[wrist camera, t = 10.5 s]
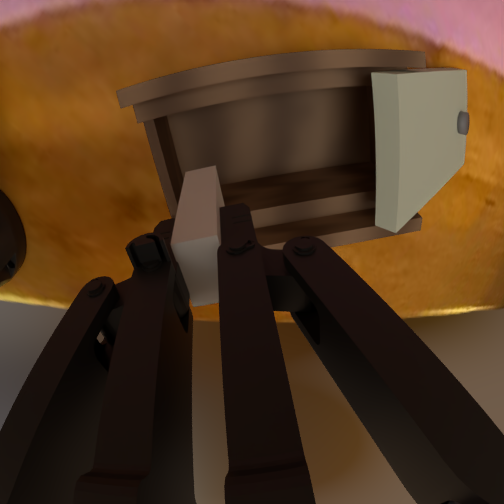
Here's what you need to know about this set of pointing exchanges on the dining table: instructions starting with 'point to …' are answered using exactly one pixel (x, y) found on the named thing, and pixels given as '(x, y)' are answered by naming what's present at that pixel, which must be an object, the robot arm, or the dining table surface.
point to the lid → (416, 138)
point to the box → (277, 138)
